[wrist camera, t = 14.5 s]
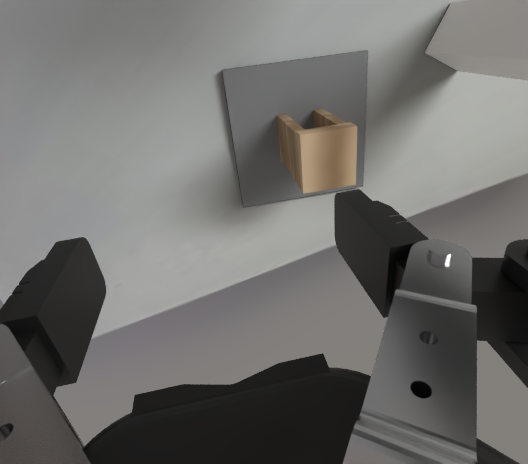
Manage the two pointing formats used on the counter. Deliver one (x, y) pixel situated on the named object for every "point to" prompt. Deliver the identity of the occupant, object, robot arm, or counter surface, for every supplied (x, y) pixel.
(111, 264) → the counter surface
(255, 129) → the mat
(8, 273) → the counter surface
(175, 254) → the counter surface
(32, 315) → the robot arm
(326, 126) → the tan notched block
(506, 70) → the milk
